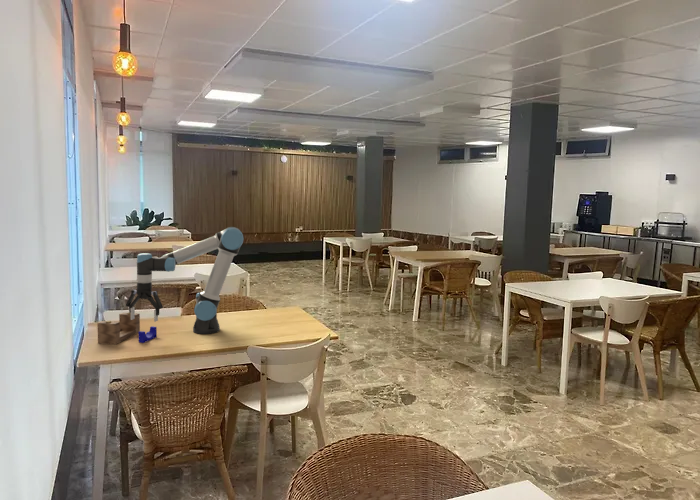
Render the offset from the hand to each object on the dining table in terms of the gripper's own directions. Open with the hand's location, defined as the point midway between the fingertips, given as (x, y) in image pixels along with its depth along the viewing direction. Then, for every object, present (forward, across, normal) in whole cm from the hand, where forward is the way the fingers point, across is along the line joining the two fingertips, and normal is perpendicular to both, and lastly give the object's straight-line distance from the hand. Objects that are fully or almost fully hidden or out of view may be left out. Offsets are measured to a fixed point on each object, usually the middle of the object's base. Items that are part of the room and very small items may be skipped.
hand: (144, 320), depth 276 cm
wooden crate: (+11, +14, 0) cm, 18 cm away
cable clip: (+11, -1, 0) cm, 11 cm away
